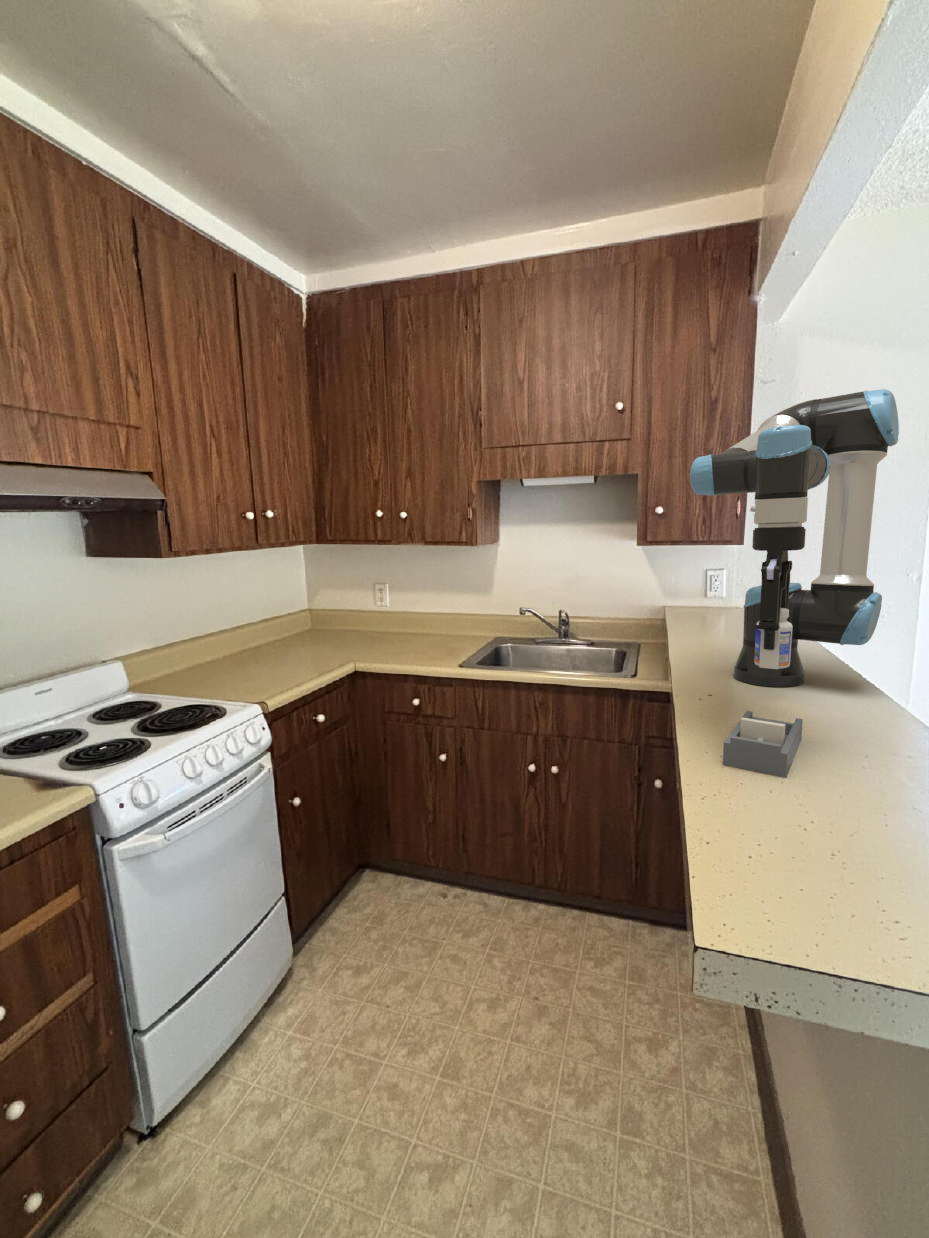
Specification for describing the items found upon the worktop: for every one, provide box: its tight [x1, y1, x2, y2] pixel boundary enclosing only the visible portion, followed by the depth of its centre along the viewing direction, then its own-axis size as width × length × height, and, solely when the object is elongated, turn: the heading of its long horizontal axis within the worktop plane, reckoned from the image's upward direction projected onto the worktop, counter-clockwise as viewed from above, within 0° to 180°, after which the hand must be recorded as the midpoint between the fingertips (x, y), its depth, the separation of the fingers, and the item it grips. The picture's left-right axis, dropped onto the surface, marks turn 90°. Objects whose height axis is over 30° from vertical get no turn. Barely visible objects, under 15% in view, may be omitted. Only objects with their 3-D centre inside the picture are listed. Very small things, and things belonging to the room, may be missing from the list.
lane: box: [722, 710, 804, 778], centre depth 95 cm, size 18×9×5 cm, turn 143°
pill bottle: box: [754, 608, 793, 669], centre depth 95 cm, size 5×5×10 cm
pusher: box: [740, 716, 785, 749], centre depth 92 cm, size 5×6×5 cm
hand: (771, 663), depth 96 cm, fingers closed on pill bottle, 5 cm apart
